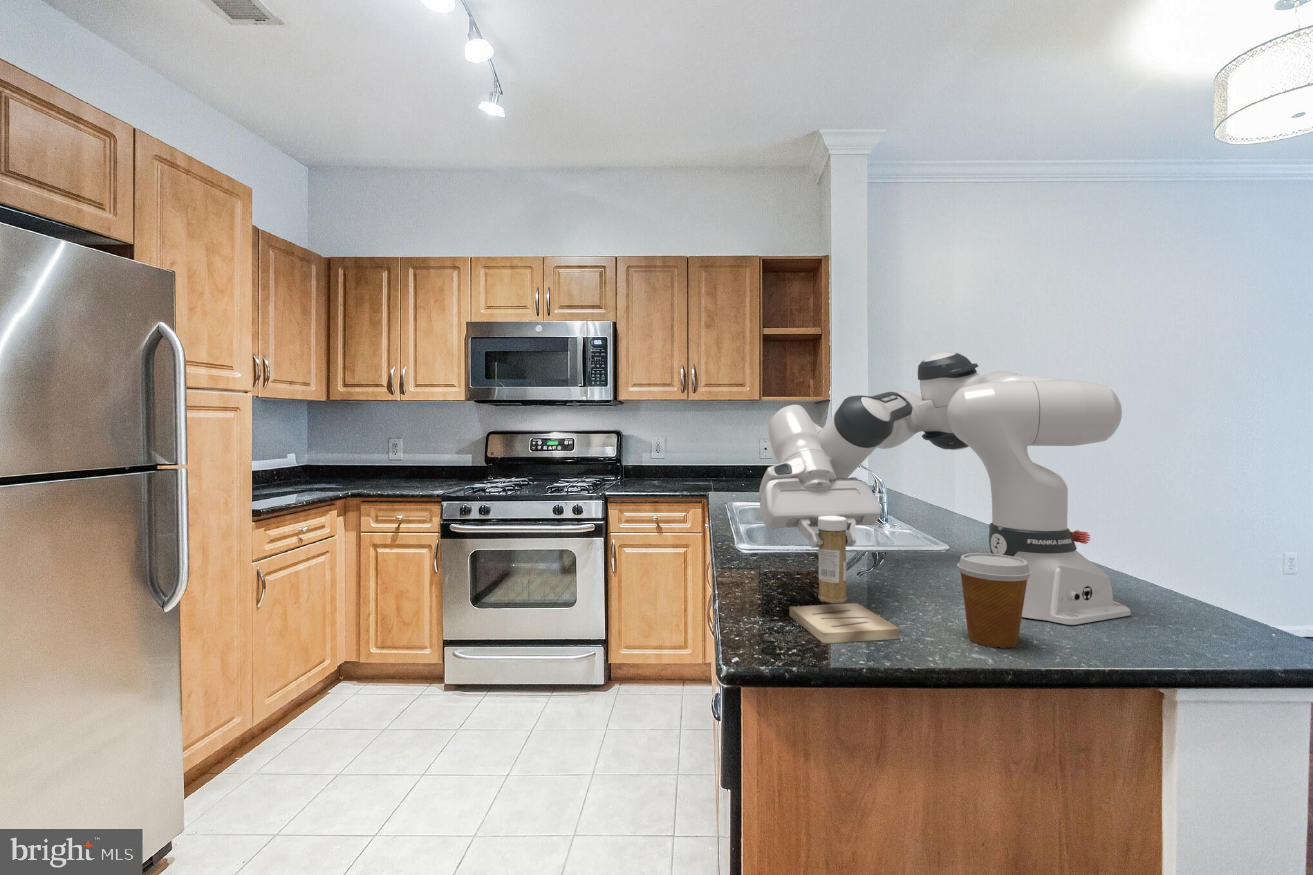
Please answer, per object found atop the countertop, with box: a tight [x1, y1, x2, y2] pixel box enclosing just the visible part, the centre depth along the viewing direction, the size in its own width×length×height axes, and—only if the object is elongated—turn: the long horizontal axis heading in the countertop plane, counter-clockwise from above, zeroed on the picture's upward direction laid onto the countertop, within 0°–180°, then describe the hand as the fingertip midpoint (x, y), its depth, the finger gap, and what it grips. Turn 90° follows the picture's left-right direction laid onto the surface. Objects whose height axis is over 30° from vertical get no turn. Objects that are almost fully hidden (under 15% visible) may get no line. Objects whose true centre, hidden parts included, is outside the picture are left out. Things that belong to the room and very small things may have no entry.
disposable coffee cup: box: [956, 552, 1032, 649], centre depth 90 cm, size 10×10×12 cm
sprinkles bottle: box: [817, 516, 848, 604], centre depth 100 cm, size 5×5×13 cm
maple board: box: [788, 602, 901, 644], centre depth 96 cm, size 12×13×2 cm
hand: (834, 545), depth 99 cm, fingers closed on sprinkles bottle, 4 cm apart
